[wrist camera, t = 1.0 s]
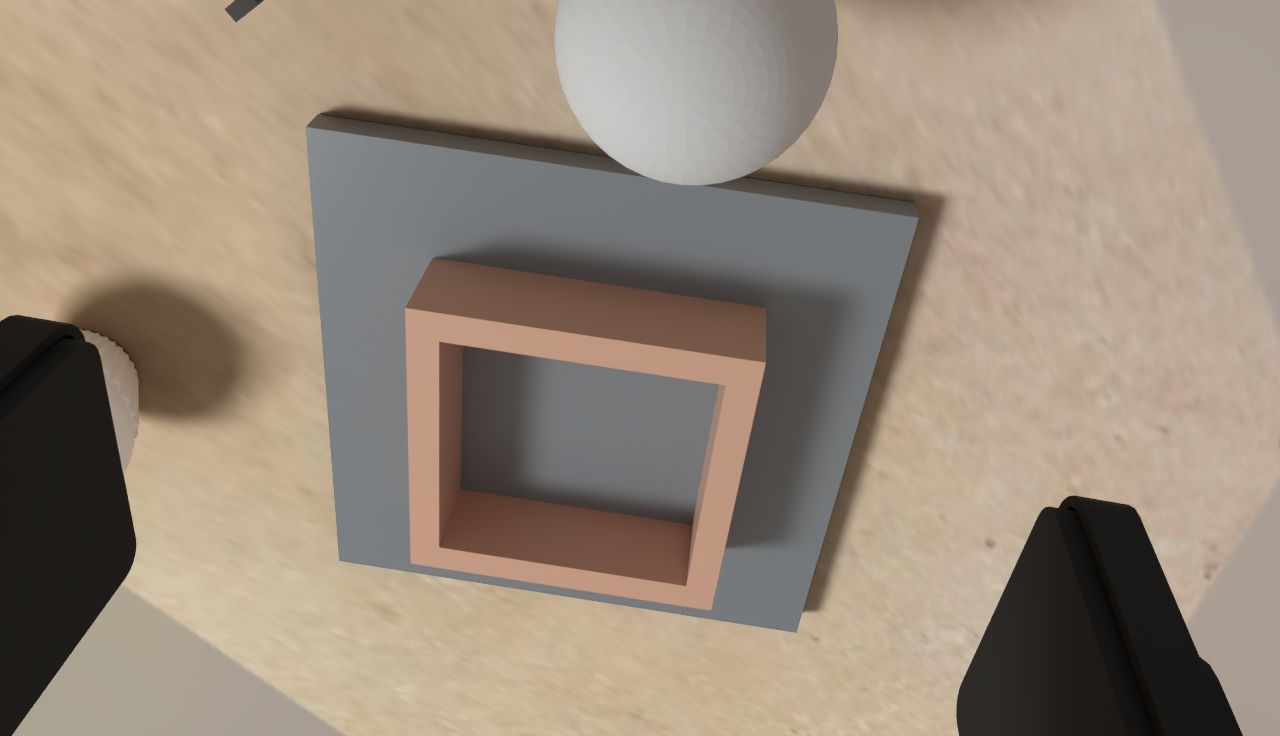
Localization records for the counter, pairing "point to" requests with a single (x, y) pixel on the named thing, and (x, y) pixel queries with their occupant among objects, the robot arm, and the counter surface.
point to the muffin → (119, 392)
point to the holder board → (592, 367)
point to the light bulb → (695, 80)
